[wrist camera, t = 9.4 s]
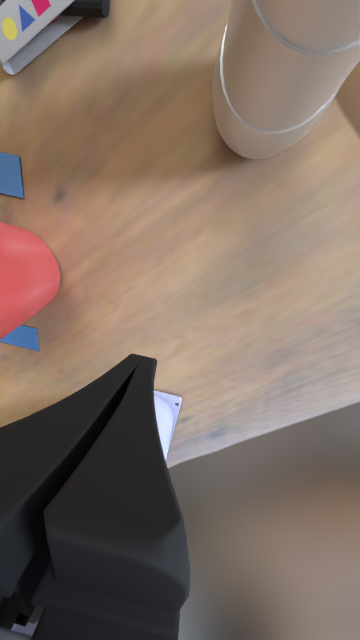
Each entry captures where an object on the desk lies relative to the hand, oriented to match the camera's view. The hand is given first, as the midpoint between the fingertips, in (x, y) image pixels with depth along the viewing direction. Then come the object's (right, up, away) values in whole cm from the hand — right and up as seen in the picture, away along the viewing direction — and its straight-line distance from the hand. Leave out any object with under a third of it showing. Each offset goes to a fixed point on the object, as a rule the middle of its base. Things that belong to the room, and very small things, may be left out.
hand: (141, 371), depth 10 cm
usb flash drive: (-7, +22, +3) cm, 23 cm away
